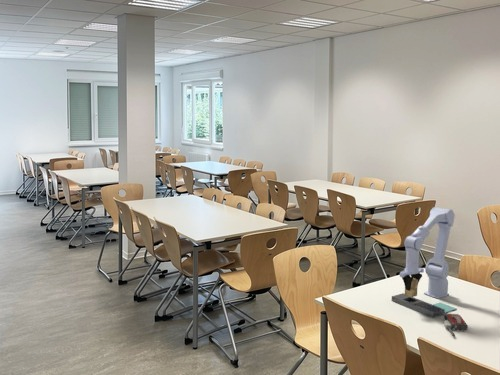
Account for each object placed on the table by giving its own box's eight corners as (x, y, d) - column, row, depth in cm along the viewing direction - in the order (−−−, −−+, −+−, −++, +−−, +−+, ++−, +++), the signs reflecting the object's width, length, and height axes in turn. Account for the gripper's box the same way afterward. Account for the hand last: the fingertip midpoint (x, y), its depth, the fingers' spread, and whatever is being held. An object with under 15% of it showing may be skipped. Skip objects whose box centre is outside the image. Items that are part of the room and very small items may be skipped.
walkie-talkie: (438, 318, 217) (450, 338, 198) (439, 309, 217) (451, 328, 197) (459, 319, 216) (473, 339, 197) (460, 310, 216) (474, 329, 196)
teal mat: (440, 303, 234) (440, 302, 234) (456, 309, 227) (456, 308, 227) (427, 306, 230) (427, 306, 230) (444, 313, 222) (444, 312, 222)
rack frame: (402, 297, 242) (403, 293, 241) (444, 314, 221) (444, 309, 221) (391, 300, 237) (391, 296, 237) (432, 317, 217) (433, 312, 217)
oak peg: (410, 293, 235) (411, 277, 234) (417, 295, 232) (417, 279, 230) (404, 294, 233) (405, 278, 232) (411, 297, 229) (412, 281, 228)
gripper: (415, 257, 237) (414, 283, 239) (395, 261, 229) (393, 289, 231) (428, 260, 231) (426, 288, 233) (407, 265, 223) (405, 293, 225)
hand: (411, 289), depth 232 cm, fingers closed on oak peg, 4 cm apart
